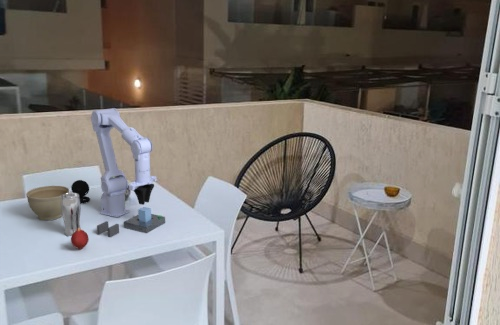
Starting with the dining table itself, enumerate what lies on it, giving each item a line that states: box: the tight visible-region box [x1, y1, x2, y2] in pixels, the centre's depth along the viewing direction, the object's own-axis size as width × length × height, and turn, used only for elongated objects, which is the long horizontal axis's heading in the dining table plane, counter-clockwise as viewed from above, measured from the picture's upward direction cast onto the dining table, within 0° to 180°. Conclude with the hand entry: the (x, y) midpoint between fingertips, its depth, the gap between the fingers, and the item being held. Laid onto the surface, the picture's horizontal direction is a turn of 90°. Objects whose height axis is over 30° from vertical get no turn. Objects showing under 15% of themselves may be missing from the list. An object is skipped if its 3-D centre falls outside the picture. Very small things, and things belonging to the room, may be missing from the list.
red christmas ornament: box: [70, 227, 90, 250], centre depth 165 cm, size 6×6×8 cm
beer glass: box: [60, 192, 82, 237], centre depth 177 cm, size 7×7×15 cm
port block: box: [123, 213, 166, 234], centre depth 187 cm, size 11×12×3 cm
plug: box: [137, 206, 152, 222], centre depth 187 cm, size 4×4×7 cm
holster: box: [96, 221, 120, 238], centre depth 179 cm, size 6×5×4 cm
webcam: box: [70, 179, 91, 204], centre depth 213 cm, size 8×8×10 cm
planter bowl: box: [25, 185, 70, 221], centre depth 194 cm, size 16×16×11 cm
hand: (144, 203), depth 185 cm, fingers open, 2 cm apart
